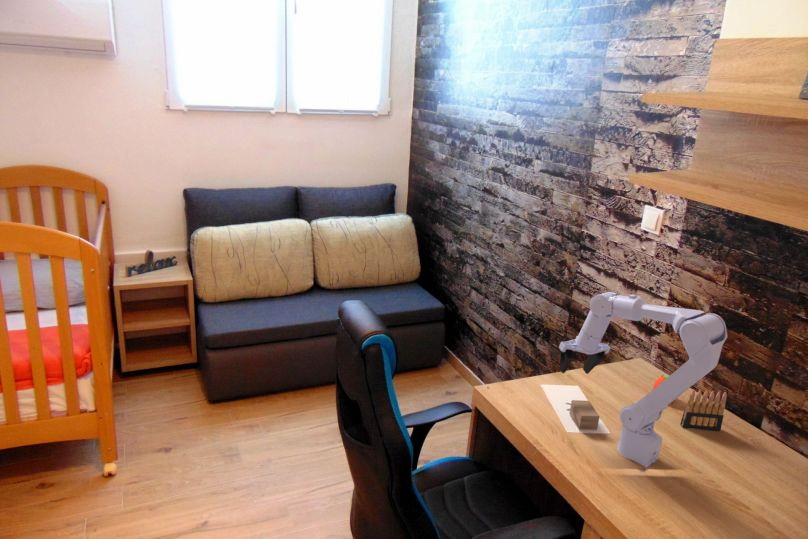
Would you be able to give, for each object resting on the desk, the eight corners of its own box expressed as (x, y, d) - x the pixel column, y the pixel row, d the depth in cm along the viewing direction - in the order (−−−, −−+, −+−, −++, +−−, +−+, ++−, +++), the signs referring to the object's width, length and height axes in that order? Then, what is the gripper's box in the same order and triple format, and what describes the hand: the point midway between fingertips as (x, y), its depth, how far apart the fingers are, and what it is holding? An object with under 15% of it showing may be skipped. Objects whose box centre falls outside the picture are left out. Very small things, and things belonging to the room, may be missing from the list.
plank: (609, 437, 164) (610, 433, 163) (566, 436, 163) (567, 432, 162) (577, 389, 188) (577, 385, 188) (539, 387, 187) (540, 384, 187)
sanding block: (596, 431, 164) (599, 416, 163) (578, 430, 164) (581, 415, 162) (586, 415, 172) (589, 400, 170) (569, 414, 171) (571, 400, 170)
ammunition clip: (717, 427, 173) (727, 390, 169) (720, 431, 171) (730, 393, 168) (679, 424, 173) (689, 387, 169) (682, 428, 171) (692, 390, 168)
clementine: (646, 389, 192) (651, 369, 189) (668, 391, 192) (673, 371, 189) (655, 402, 184) (660, 382, 182) (678, 404, 184) (683, 384, 182)
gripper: (607, 324, 166) (589, 362, 173) (562, 321, 161) (544, 360, 168) (621, 340, 160) (601, 379, 167) (574, 338, 156) (555, 377, 162)
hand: (573, 371), depth 167 cm, fingers open, 7 cm apart
